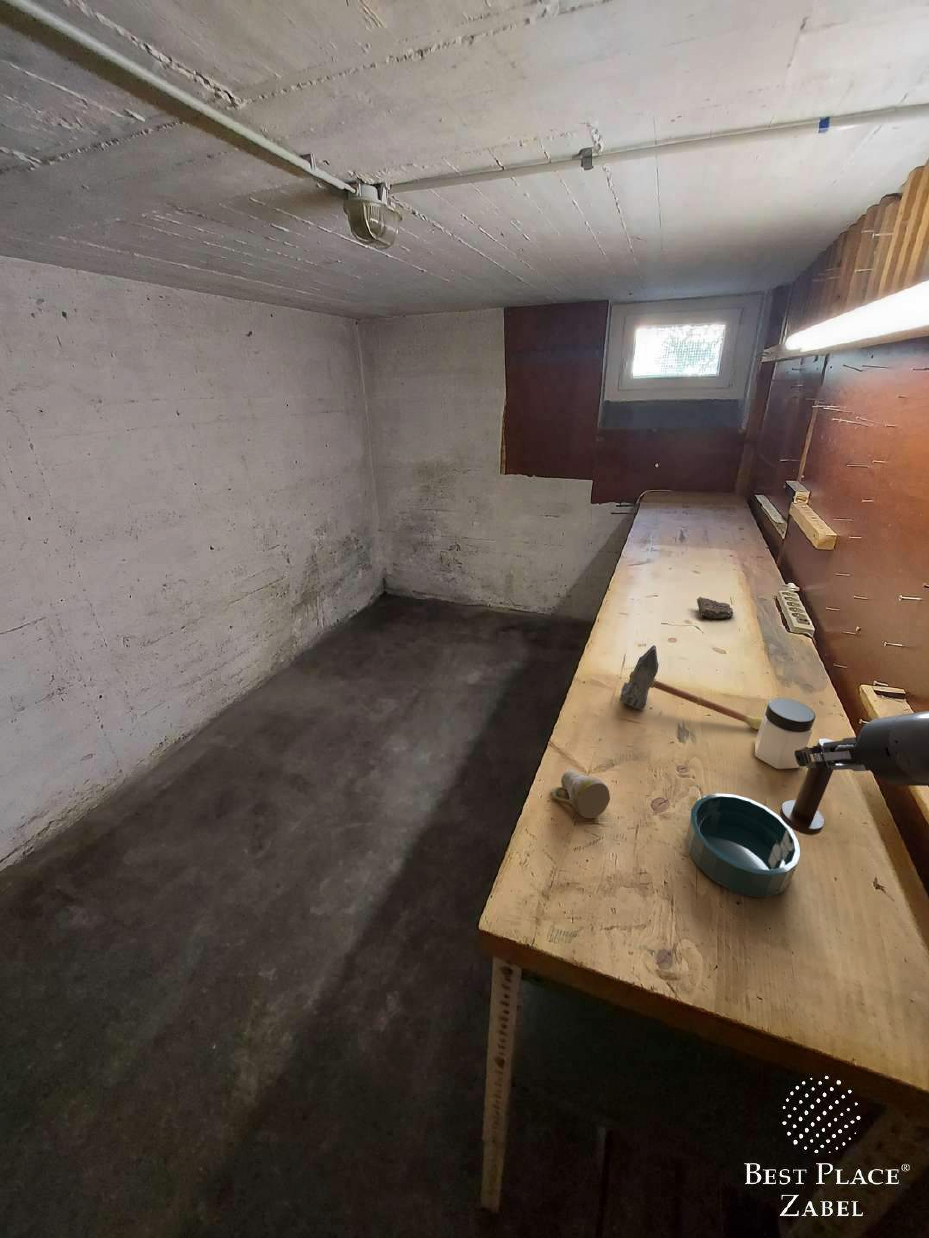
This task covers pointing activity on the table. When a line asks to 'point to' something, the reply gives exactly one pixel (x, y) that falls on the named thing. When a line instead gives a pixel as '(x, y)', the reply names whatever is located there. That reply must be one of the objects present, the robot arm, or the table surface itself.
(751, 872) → the bowl
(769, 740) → the jar
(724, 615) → the concrete sample
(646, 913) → the table surface
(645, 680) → the hammer
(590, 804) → the mug
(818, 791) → the brown flanged rod
